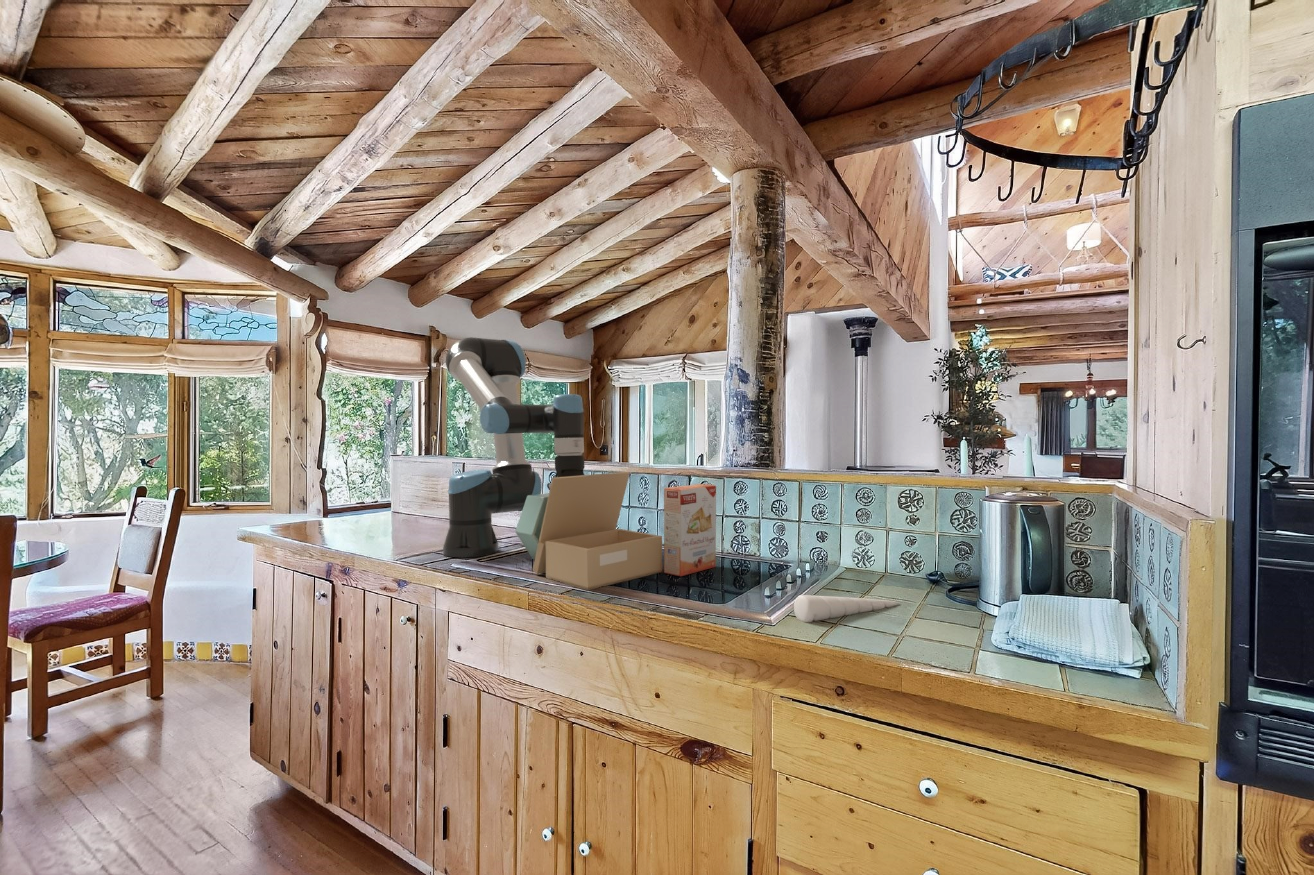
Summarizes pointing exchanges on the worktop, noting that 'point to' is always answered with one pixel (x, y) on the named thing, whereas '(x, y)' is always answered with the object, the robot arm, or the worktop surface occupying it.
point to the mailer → (603, 558)
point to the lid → (580, 508)
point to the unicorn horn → (834, 606)
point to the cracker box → (689, 529)
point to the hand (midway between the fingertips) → (571, 546)
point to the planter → (532, 522)
